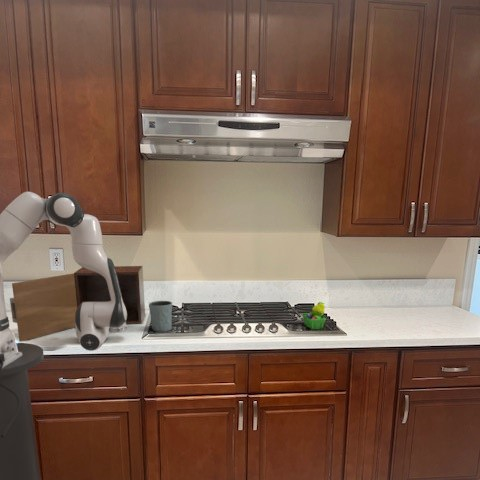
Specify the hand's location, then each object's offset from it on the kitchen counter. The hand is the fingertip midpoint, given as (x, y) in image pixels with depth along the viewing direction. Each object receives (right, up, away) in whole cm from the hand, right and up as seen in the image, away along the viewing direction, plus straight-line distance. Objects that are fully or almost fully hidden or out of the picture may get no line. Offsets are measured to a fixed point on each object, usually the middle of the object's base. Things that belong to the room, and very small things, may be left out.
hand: (104, 321), depth 200 cm
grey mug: (+23, -4, +8) cm, 25 cm away
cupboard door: (-26, -5, +3) cm, 27 cm away
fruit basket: (+92, -3, +12) cm, 93 cm away
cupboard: (-2, +1, +24) cm, 24 cm away
